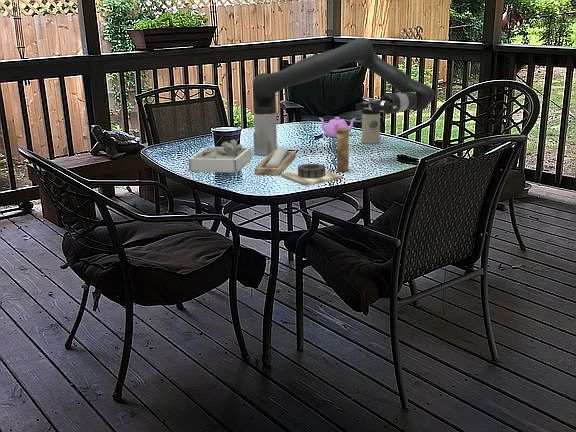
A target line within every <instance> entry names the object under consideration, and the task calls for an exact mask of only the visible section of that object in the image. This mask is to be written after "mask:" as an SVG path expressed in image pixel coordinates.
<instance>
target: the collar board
mask: <svg viewBox="0 0 576 432" xmlns="http://www.w3.org/2000/svg"><path fill="white" fill-rule="evenodd" d="M280 177H281V178H285V179H287V180H289V181H292V182H294V183H298V184H301V185H302V186H312V185H318V184H321V183H327V182H332V181H335V180H336V181H337V179H338V180H343V175H342V174H338V173H335V172H332V171H329V170H326V166H325V165H324V164H321V163H303V164H300V165H298V166H297V170H295V171H291V172H285V173H284V172H283V173H282V174H281V175H280Z"/></svg>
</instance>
